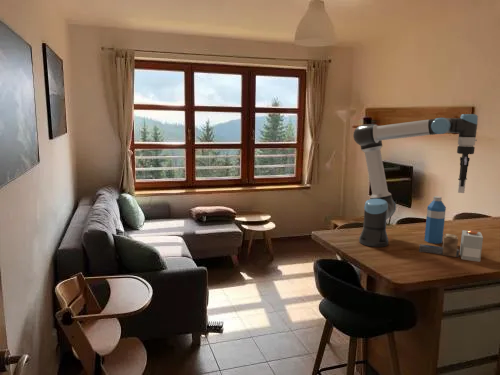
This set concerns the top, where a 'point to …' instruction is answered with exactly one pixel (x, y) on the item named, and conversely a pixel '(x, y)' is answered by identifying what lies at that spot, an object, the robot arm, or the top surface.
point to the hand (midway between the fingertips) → (461, 192)
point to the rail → (433, 249)
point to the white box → (471, 246)
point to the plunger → (472, 232)
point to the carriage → (450, 245)
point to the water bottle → (435, 221)
